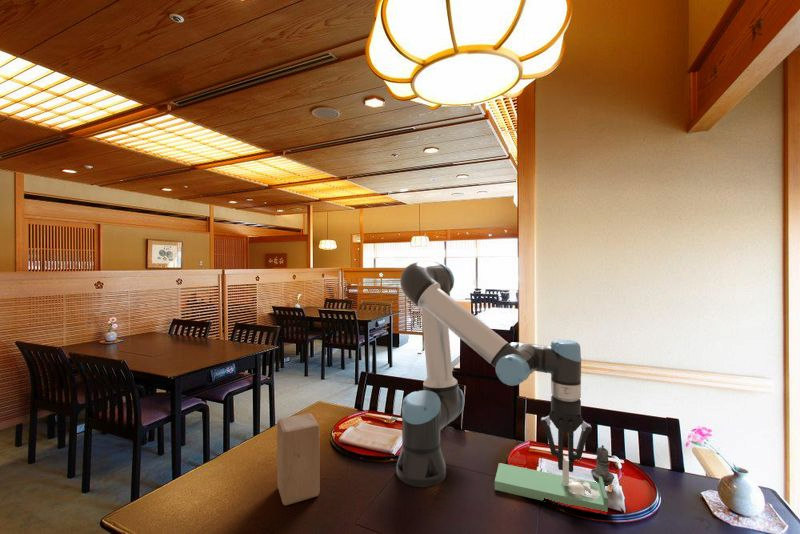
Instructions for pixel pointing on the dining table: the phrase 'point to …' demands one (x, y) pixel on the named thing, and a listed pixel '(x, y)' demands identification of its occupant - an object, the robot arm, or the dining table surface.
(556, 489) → the green flat block
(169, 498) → the dining table surface
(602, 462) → the dark grey figurine
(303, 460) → the wooden block
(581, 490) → the ball
